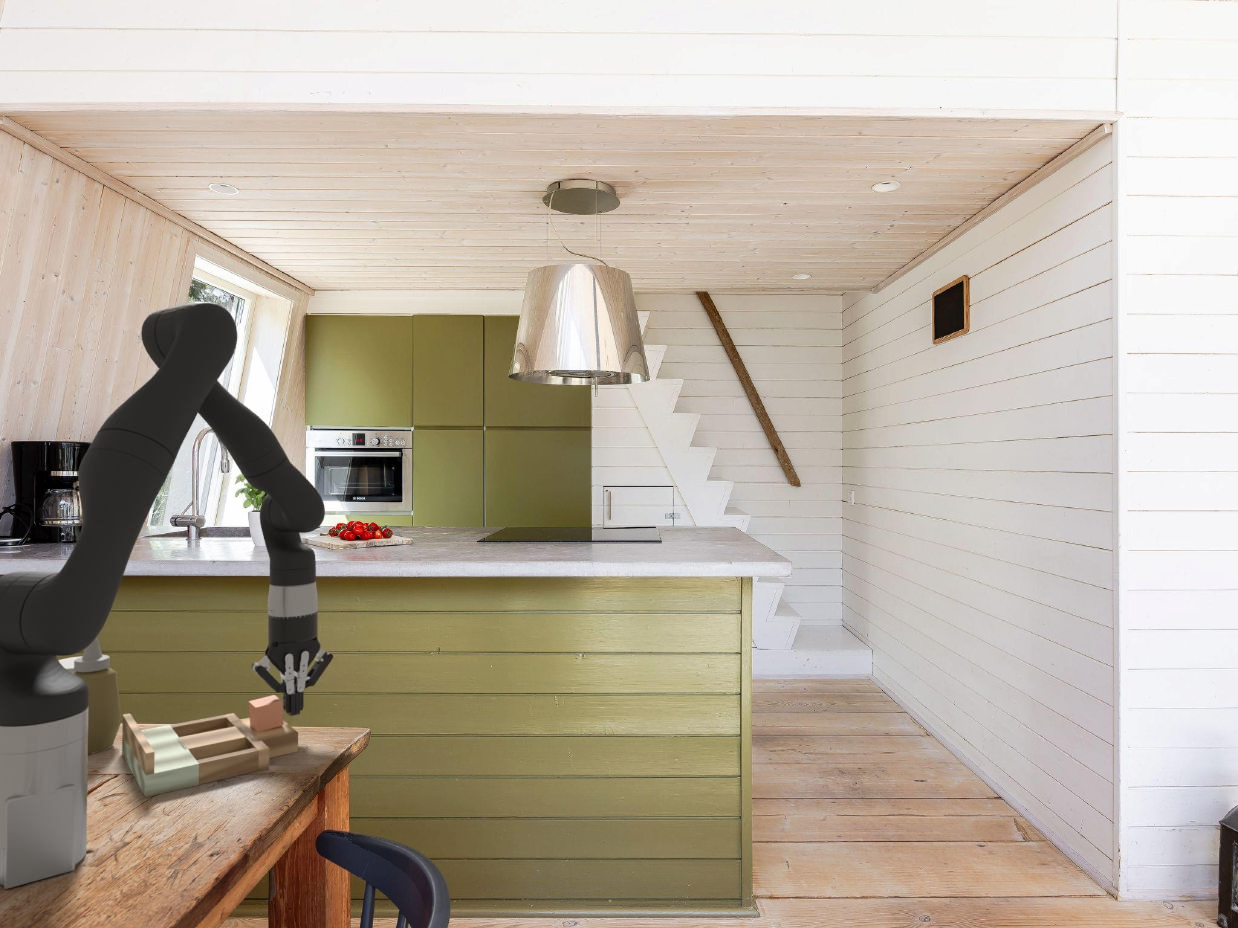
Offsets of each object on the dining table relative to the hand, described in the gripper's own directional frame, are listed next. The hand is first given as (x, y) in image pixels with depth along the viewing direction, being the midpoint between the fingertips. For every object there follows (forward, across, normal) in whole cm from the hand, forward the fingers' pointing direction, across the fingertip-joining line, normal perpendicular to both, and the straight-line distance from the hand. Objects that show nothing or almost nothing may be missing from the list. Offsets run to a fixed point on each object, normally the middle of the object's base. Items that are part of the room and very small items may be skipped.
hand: (293, 713), depth 127 cm
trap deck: (+4, -12, 0) cm, 13 cm away
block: (+1, -4, 0) cm, 4 cm away
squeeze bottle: (+4, -26, +15) cm, 31 cm away
